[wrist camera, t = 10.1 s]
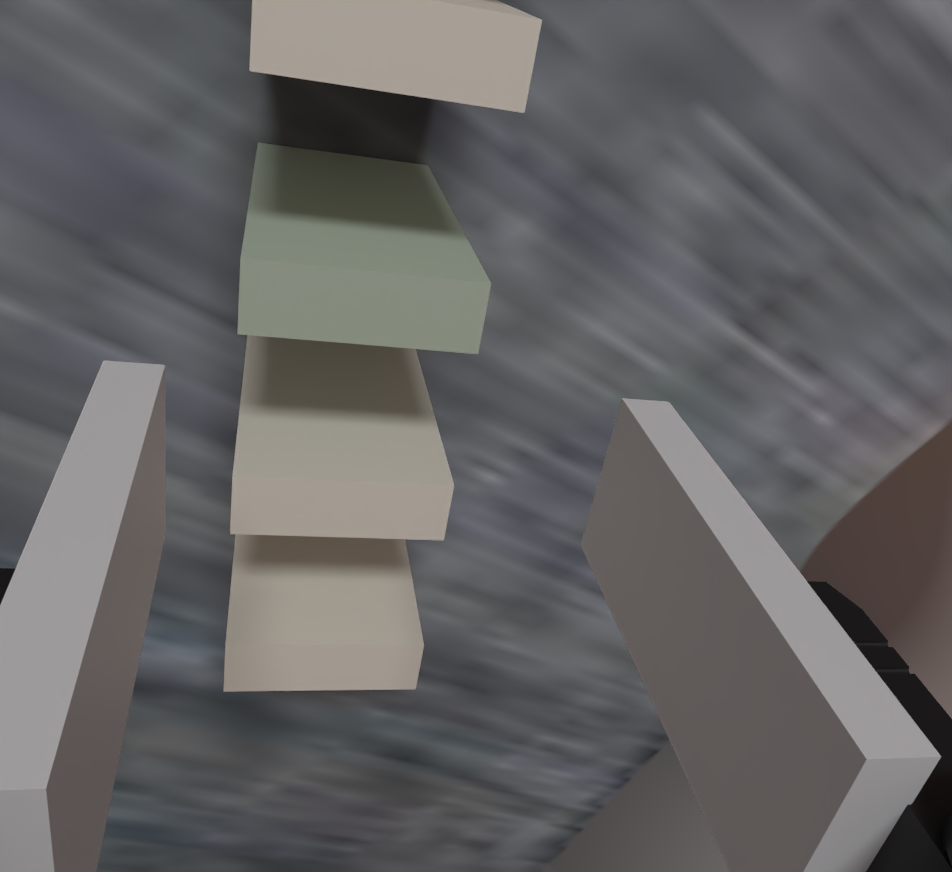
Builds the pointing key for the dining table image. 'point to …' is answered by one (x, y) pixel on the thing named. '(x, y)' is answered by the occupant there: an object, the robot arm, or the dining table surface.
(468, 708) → the dining table surface
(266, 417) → the domino
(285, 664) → the domino
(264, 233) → the domino
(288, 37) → the domino
